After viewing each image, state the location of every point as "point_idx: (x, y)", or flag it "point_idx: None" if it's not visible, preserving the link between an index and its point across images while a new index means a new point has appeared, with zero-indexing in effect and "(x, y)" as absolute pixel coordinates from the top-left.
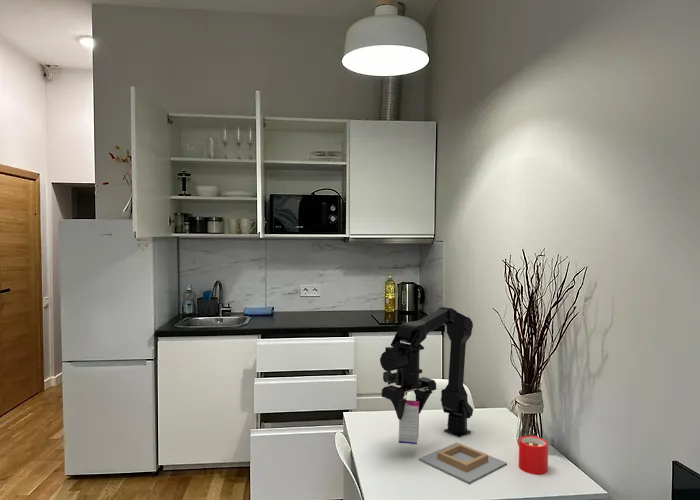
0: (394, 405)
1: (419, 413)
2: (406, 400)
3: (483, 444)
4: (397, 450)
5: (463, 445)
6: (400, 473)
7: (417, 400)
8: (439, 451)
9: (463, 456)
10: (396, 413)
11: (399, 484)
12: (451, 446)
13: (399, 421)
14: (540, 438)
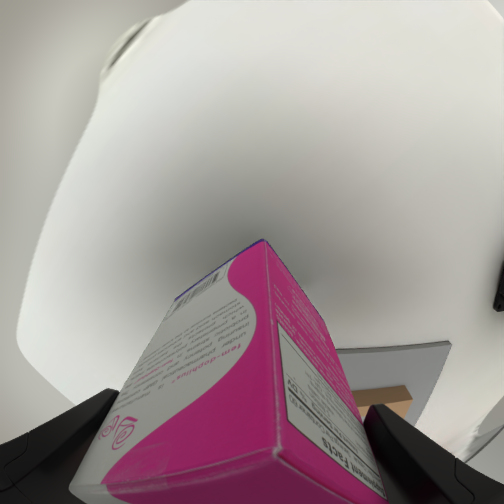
0: (6, 457)
1: (366, 427)
2: (304, 502)
3: (475, 377)
4: (238, 225)
5: (403, 414)
6: (115, 355)
7: (419, 501)
8: (350, 363)
9: (364, 418)
10: (68, 412)
11: (84, 381)
12: (414, 357)
13: (129, 378)
14: None
